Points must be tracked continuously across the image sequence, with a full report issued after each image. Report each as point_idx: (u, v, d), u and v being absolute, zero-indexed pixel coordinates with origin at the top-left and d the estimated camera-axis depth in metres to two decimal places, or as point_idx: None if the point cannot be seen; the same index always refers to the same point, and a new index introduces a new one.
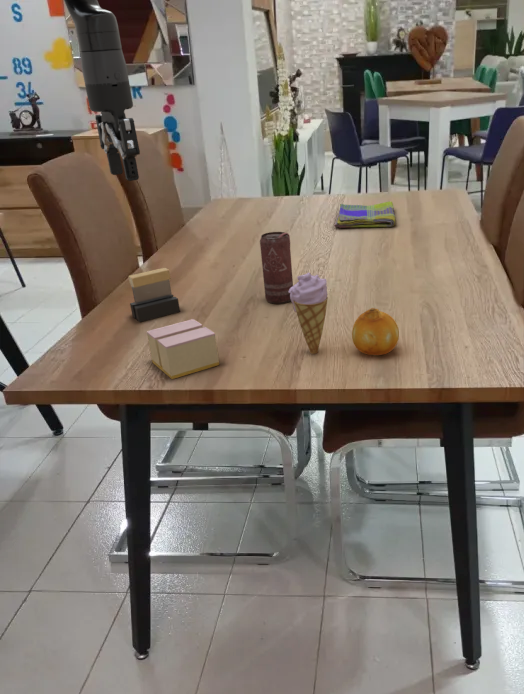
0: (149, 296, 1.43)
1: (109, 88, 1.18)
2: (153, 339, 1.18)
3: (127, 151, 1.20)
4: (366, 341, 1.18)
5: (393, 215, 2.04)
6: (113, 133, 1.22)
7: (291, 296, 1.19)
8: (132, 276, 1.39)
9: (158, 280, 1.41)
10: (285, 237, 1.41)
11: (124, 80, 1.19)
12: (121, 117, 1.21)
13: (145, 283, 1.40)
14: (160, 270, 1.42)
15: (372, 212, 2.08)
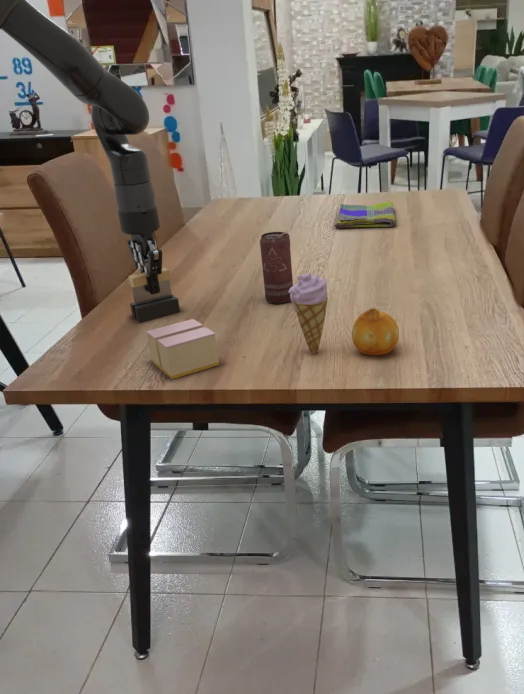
0: (149, 296, 1.43)
1: (139, 215, 1.32)
2: (153, 339, 1.18)
3: (151, 274, 1.37)
4: (366, 341, 1.18)
5: (393, 215, 2.04)
6: (141, 255, 1.36)
7: (291, 296, 1.19)
8: (132, 276, 1.39)
9: (158, 280, 1.41)
10: (285, 237, 1.41)
11: (152, 207, 1.33)
12: (149, 239, 1.34)
13: (145, 283, 1.40)
14: None
15: (372, 212, 2.08)
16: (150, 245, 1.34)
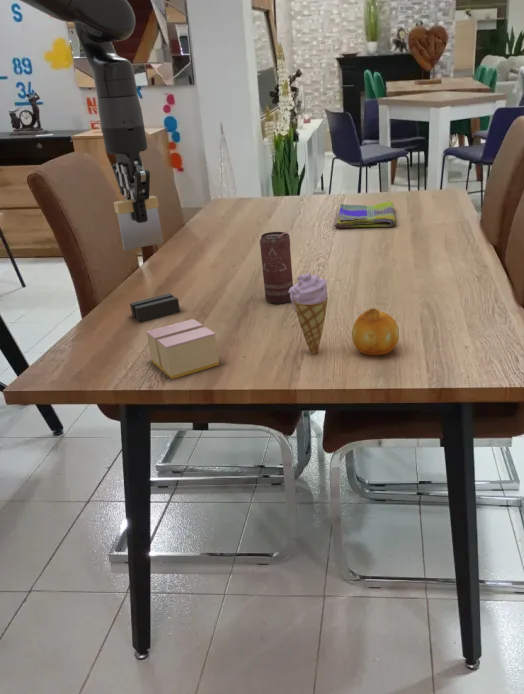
0: (135, 225, 1.33)
1: (125, 132, 1.22)
2: (153, 339, 1.18)
3: (138, 198, 1.27)
4: (366, 341, 1.18)
5: (393, 215, 2.04)
6: (127, 177, 1.27)
7: (291, 296, 1.19)
8: (117, 202, 1.30)
9: None
10: (285, 237, 1.41)
11: (139, 124, 1.24)
12: (136, 159, 1.25)
13: (131, 210, 1.31)
14: None
15: (372, 212, 2.08)
16: (137, 166, 1.25)
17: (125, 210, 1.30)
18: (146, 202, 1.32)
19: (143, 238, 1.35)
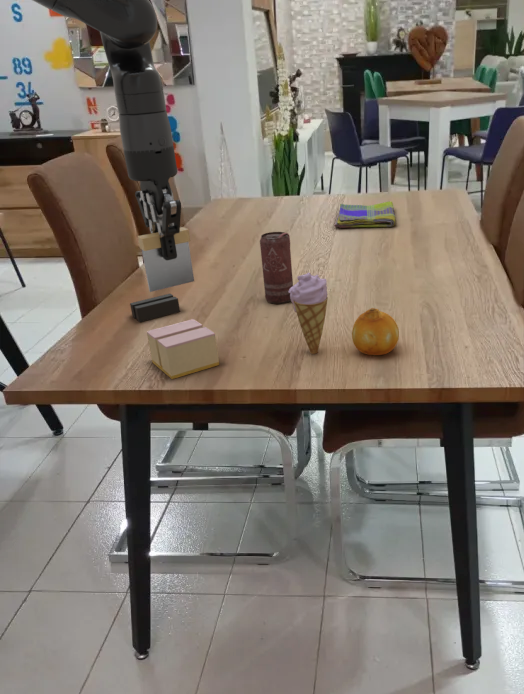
0: (163, 262, 1.13)
1: (152, 155, 1.02)
2: (153, 339, 1.18)
3: (166, 233, 1.07)
4: (366, 341, 1.18)
5: (393, 215, 2.04)
6: (154, 208, 1.07)
7: (291, 296, 1.19)
8: (142, 236, 1.10)
9: (175, 242, 1.12)
10: (285, 237, 1.41)
11: (169, 145, 1.03)
12: (165, 187, 1.05)
13: (159, 246, 1.11)
14: None
15: (372, 212, 2.08)
16: (165, 195, 1.05)
17: (151, 246, 1.10)
18: (175, 236, 1.12)
19: (172, 277, 1.15)
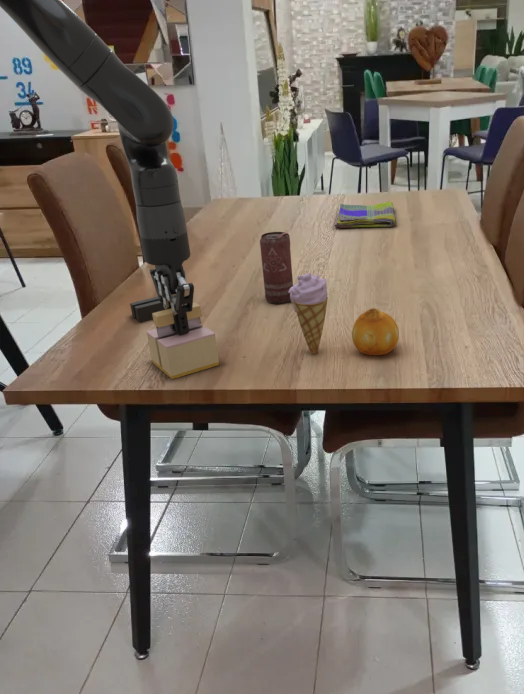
0: None
1: (167, 243, 1.08)
2: (153, 339, 1.18)
3: (180, 312, 1.13)
4: (366, 341, 1.18)
5: (393, 215, 2.04)
6: (168, 289, 1.13)
7: (291, 296, 1.19)
8: (157, 314, 1.16)
9: (187, 318, 1.18)
10: (285, 237, 1.41)
11: (183, 232, 1.10)
12: (179, 270, 1.11)
13: (172, 322, 1.17)
14: None
15: (372, 212, 2.08)
16: (179, 278, 1.11)
17: (165, 323, 1.16)
18: (188, 312, 1.18)
19: None
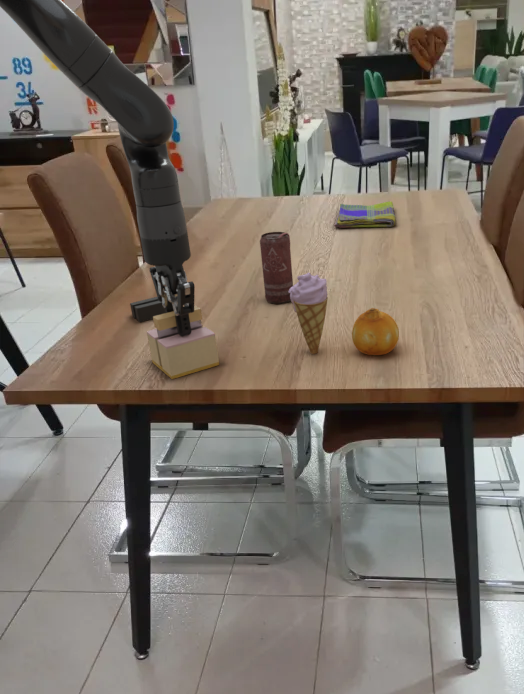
0: None
1: (167, 243, 1.08)
2: (153, 339, 1.18)
3: (182, 312, 1.13)
4: (366, 341, 1.18)
5: (393, 215, 2.04)
6: (169, 289, 1.13)
7: (291, 296, 1.19)
8: (157, 317, 1.16)
9: None
10: (285, 237, 1.41)
11: (183, 233, 1.10)
12: (179, 271, 1.11)
13: (173, 325, 1.17)
14: None
15: (372, 212, 2.08)
16: (179, 278, 1.11)
17: (166, 326, 1.16)
18: (189, 315, 1.18)
19: None
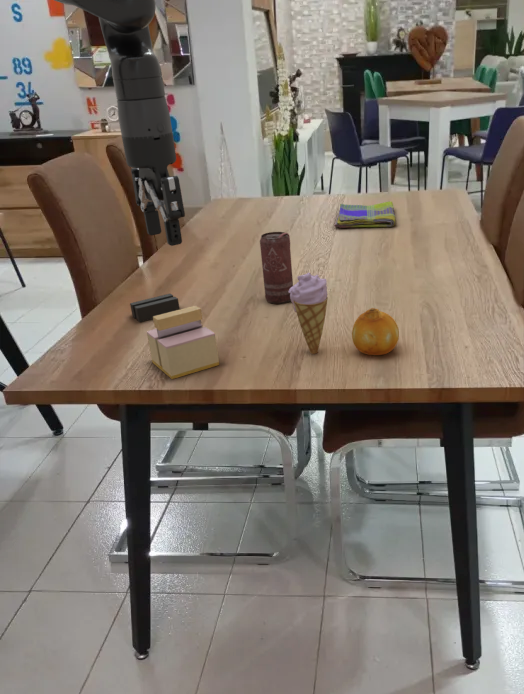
0: None
1: (151, 142, 1.01)
2: (153, 339, 1.18)
3: (171, 214, 1.03)
4: (366, 341, 1.18)
5: (393, 215, 2.04)
6: (154, 192, 1.05)
7: (291, 296, 1.19)
8: (157, 317, 1.16)
9: (188, 321, 1.18)
10: (285, 237, 1.41)
11: (167, 132, 1.02)
12: (163, 174, 1.04)
13: (173, 325, 1.17)
14: (190, 309, 1.19)
15: (372, 212, 2.08)
16: (163, 177, 1.03)
17: (166, 326, 1.16)
18: (189, 315, 1.18)
19: None
